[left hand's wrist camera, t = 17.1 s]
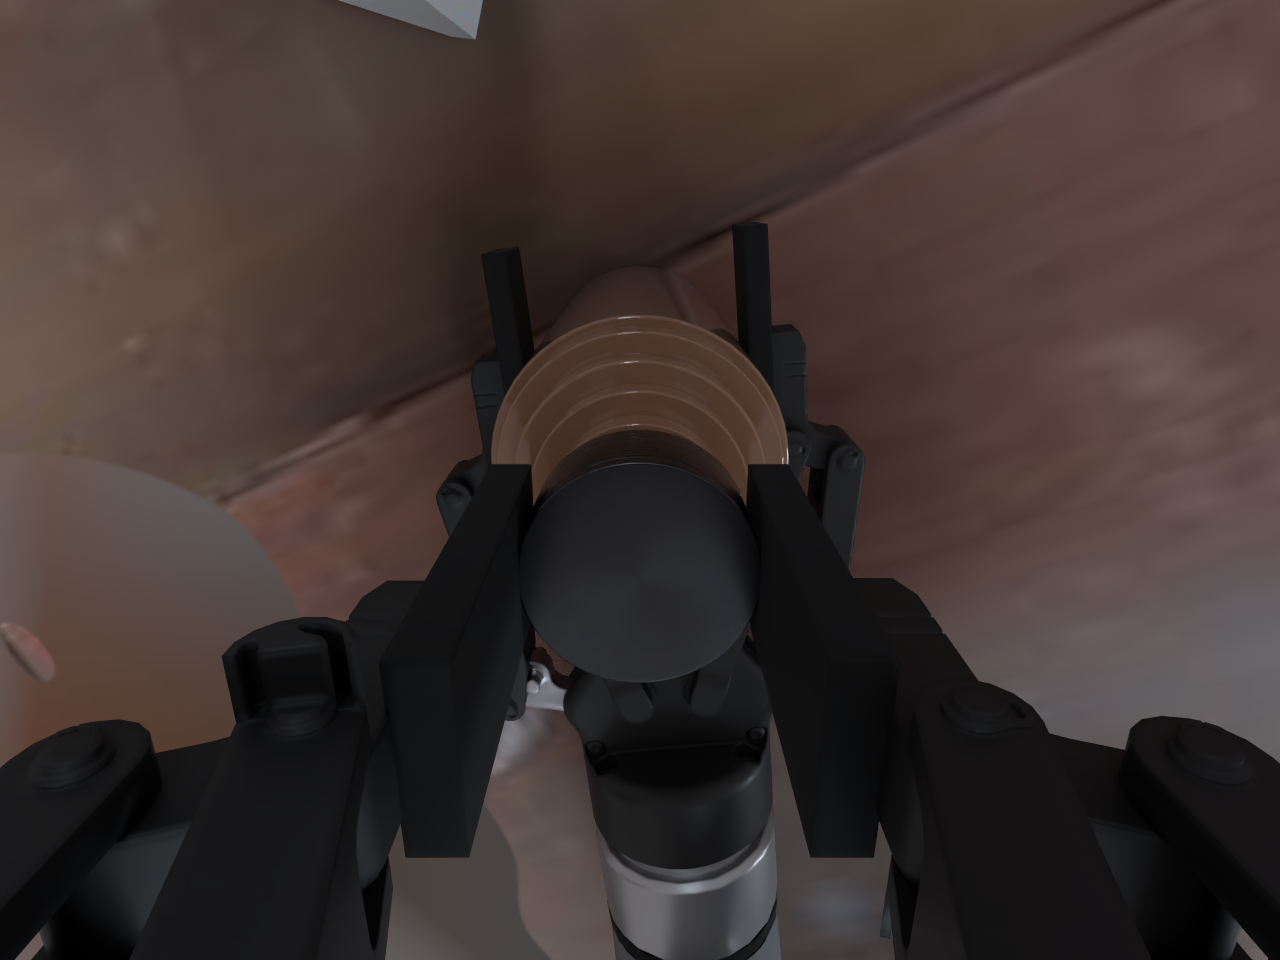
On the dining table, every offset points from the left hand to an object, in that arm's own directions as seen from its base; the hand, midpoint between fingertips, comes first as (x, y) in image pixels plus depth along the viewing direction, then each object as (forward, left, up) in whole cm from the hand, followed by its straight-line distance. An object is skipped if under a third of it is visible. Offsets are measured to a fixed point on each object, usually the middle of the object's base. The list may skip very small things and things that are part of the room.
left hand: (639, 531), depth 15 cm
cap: (0, 0, +2) cm, 2 cm away
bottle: (0, 0, -18) cm, 18 cm away
